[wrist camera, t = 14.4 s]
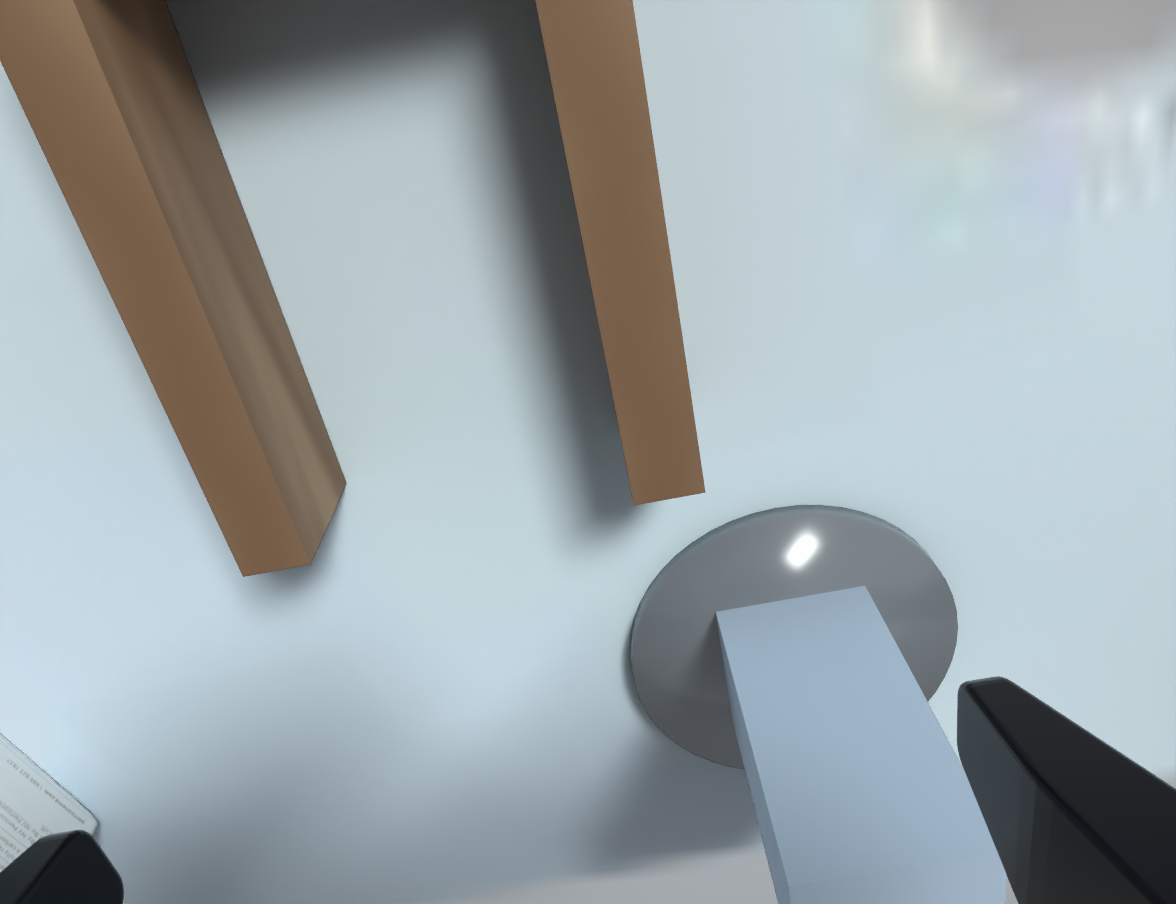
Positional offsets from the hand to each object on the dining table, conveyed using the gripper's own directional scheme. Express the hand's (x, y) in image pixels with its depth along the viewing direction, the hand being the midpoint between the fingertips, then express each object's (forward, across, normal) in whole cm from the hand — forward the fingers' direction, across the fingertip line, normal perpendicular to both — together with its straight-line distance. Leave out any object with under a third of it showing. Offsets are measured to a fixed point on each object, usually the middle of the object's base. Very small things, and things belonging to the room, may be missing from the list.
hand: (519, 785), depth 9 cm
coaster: (+12, -5, +10) cm, 17 cm away
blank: (+12, -5, +10) cm, 16 cm away
